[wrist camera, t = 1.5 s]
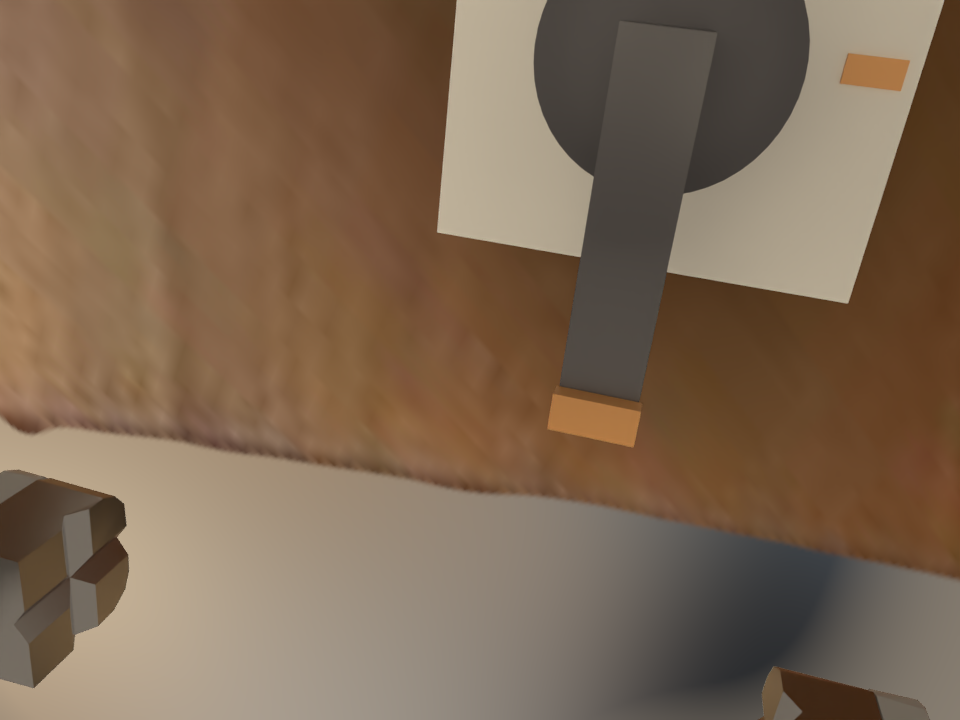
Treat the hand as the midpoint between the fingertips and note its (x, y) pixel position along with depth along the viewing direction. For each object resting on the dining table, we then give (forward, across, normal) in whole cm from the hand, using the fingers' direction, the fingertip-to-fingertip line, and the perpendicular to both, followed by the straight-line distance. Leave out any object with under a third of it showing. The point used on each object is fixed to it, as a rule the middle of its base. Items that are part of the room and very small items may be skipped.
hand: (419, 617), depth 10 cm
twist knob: (+21, -1, -3) cm, 21 cm away
